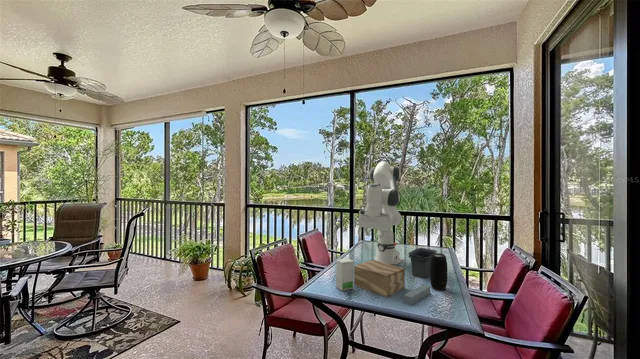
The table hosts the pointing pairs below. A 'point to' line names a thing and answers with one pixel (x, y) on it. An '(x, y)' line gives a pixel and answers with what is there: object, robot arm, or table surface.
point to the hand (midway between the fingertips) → (374, 236)
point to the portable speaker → (438, 271)
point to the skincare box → (344, 274)
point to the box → (379, 282)
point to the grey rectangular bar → (416, 294)
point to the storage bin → (421, 261)
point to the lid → (379, 268)
